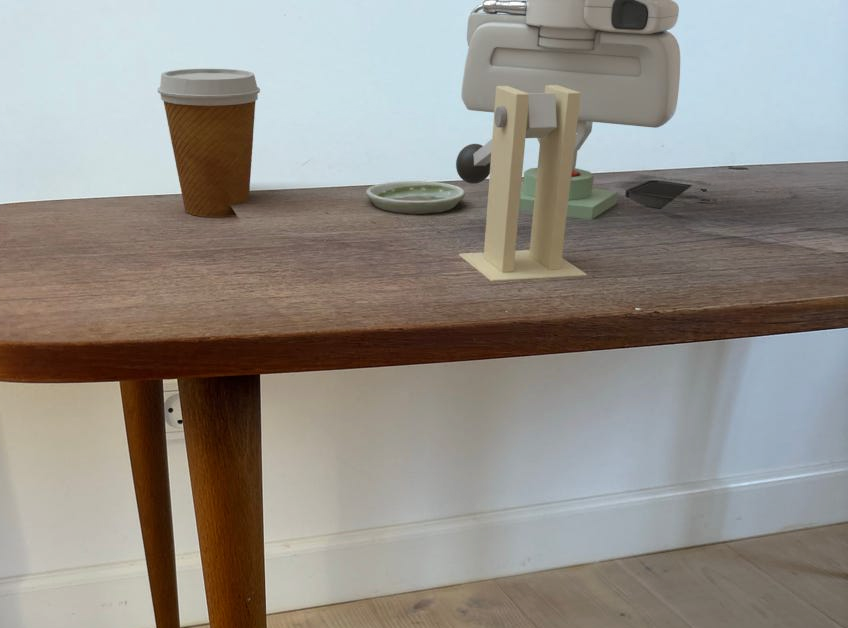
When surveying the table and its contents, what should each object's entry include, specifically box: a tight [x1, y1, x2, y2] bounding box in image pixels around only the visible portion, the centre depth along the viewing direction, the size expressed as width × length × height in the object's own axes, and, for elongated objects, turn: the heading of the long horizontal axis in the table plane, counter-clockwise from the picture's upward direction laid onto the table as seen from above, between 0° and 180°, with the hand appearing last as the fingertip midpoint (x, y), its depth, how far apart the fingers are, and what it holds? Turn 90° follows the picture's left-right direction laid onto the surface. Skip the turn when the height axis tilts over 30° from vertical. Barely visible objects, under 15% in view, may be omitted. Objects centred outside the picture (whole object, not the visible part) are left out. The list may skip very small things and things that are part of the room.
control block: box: [519, 167, 619, 220], centre depth 103 cm, size 10×8×4 cm
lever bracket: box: [458, 85, 588, 283], centre depth 82 cm, size 8×8×14 cm
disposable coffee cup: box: [157, 68, 261, 218], centre depth 101 cm, size 10×10×12 cm
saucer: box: [365, 180, 466, 215], centre depth 103 cm, size 10×10×2 cm
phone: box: [624, 179, 693, 209], centre depth 108 cm, size 8×1×15 cm
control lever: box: [455, 93, 557, 185], centre depth 86 cm, size 17×3×3 cm, turn 14°
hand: (558, 169), depth 102 cm, fingers closed, pressing on start button
